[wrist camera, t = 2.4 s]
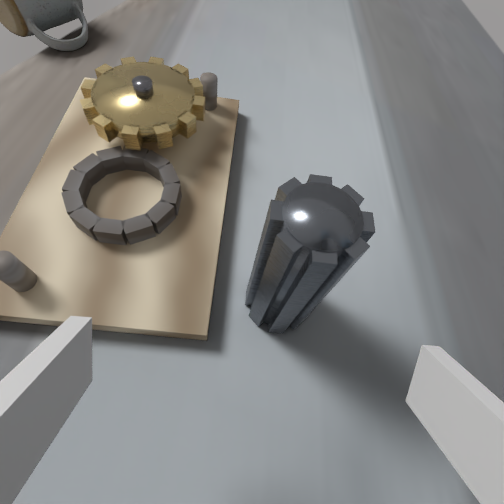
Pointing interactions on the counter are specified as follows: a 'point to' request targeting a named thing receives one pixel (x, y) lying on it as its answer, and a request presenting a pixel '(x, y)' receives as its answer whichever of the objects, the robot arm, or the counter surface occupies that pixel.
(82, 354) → the robot arm
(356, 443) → the counter surface
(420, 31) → the counter surface
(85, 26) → the ceramic mug
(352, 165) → the counter surface
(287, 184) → the pinion
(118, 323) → the board
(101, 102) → the gear
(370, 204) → the counter surface
